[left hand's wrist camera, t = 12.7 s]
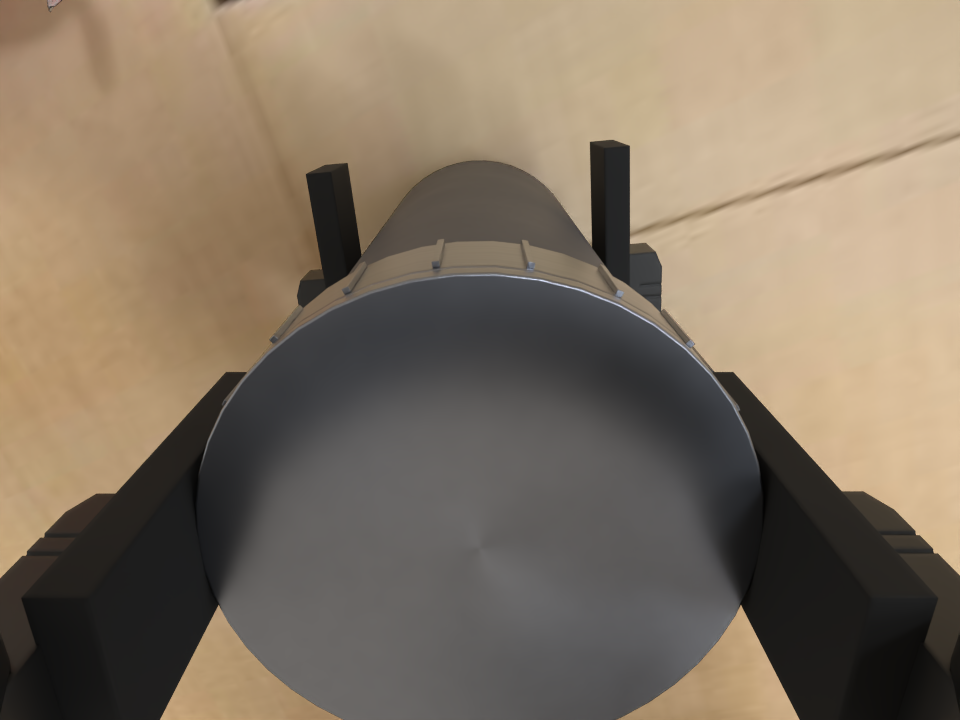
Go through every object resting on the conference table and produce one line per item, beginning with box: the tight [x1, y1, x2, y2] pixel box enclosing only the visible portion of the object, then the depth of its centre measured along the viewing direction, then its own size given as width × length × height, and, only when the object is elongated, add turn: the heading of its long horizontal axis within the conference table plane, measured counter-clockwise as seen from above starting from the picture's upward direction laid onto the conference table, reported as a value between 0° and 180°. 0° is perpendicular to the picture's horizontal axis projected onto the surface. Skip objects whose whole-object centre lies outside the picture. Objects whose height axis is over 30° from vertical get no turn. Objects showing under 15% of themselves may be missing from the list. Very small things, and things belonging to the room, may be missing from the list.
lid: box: [195, 239, 764, 720], centre depth 11 cm, size 9×9×2 cm
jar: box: [348, 161, 606, 275], centre depth 20 cm, size 8×8×19 cm
